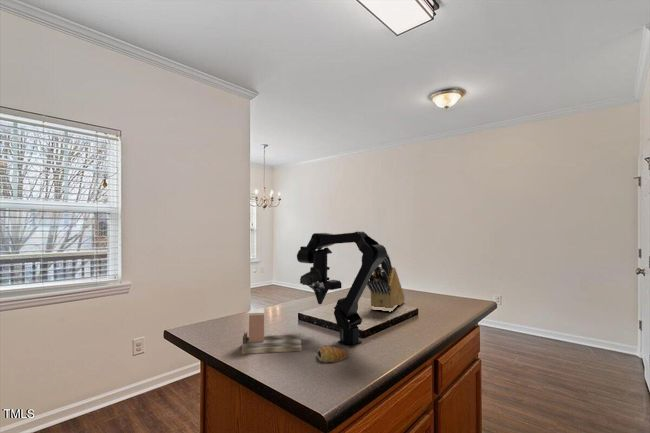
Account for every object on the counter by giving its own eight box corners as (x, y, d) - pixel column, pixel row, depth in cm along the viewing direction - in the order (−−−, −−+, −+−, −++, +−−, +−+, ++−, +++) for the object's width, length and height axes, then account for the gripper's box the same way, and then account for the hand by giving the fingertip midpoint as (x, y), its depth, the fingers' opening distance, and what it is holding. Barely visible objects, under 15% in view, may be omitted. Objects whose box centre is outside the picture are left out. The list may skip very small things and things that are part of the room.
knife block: (363, 315, 154) (363, 250, 155) (385, 300, 185) (385, 246, 186) (385, 318, 149) (385, 251, 150) (405, 302, 180) (405, 247, 181)
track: (299, 340, 120) (299, 328, 120) (301, 350, 110) (301, 337, 110) (244, 343, 117) (245, 330, 117) (241, 353, 107) (242, 340, 107)
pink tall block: (264, 338, 116) (264, 308, 116) (263, 344, 111) (264, 312, 111) (249, 339, 115) (250, 309, 115) (248, 344, 110) (248, 313, 110)
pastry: (342, 353, 109) (342, 341, 109) (349, 361, 102) (349, 349, 102) (315, 356, 106) (315, 344, 106) (321, 365, 99) (321, 352, 99)
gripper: (289, 264, 128) (289, 303, 128) (321, 268, 115) (320, 312, 114) (310, 261, 136) (310, 298, 136) (342, 266, 122) (342, 307, 122)
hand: (319, 304), depth 127 cm, fingers closed
